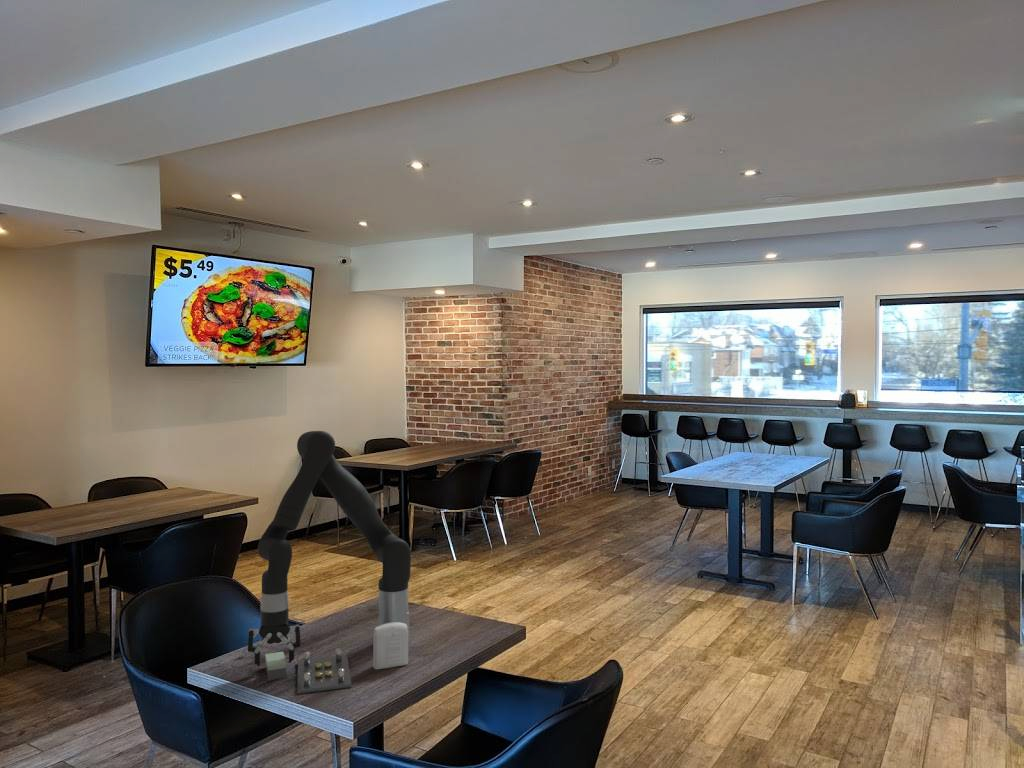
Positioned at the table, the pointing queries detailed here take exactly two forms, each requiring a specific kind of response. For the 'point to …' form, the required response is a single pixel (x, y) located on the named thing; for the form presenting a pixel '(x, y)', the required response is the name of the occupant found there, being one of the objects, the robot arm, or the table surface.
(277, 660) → the grey green block
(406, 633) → the photo printer
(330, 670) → the plate
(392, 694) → the table surface
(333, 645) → the table surface
